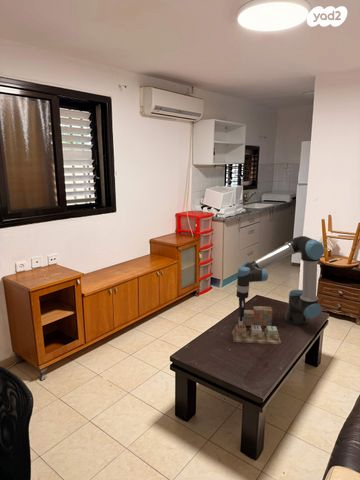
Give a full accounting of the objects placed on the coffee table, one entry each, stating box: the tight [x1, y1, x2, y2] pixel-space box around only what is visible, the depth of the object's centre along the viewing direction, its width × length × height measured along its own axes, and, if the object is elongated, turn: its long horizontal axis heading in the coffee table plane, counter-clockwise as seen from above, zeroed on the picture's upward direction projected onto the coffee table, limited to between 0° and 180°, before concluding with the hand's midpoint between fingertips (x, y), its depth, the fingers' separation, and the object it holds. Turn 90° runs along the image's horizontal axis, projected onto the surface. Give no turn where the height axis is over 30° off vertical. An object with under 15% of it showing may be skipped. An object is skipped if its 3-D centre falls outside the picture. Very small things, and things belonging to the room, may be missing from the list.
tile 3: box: [235, 324, 247, 333], centre depth 215 cm, size 6×6×4 cm
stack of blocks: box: [243, 305, 273, 327], centre depth 233 cm, size 21×6×12 cm, turn 87°
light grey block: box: [265, 325, 279, 335], centre depth 213 cm, size 6×6×4 cm
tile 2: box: [250, 325, 263, 334], centre depth 214 cm, size 6×6×4 cm
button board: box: [231, 326, 282, 345], centre depth 214 cm, size 30×12×5 cm, turn 84°
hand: (240, 324), depth 214 cm, fingers closed
